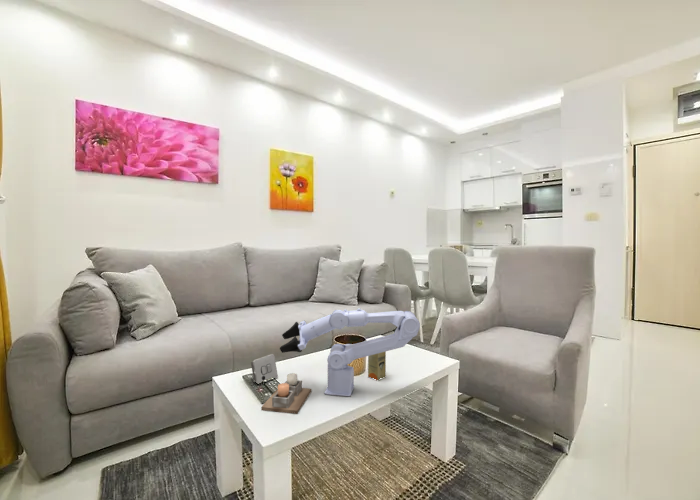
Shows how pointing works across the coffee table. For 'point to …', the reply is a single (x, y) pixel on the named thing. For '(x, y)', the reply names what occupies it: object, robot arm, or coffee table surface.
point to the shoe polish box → (377, 365)
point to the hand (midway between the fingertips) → (282, 343)
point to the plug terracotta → (283, 390)
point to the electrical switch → (264, 368)
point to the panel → (288, 400)
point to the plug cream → (292, 379)
